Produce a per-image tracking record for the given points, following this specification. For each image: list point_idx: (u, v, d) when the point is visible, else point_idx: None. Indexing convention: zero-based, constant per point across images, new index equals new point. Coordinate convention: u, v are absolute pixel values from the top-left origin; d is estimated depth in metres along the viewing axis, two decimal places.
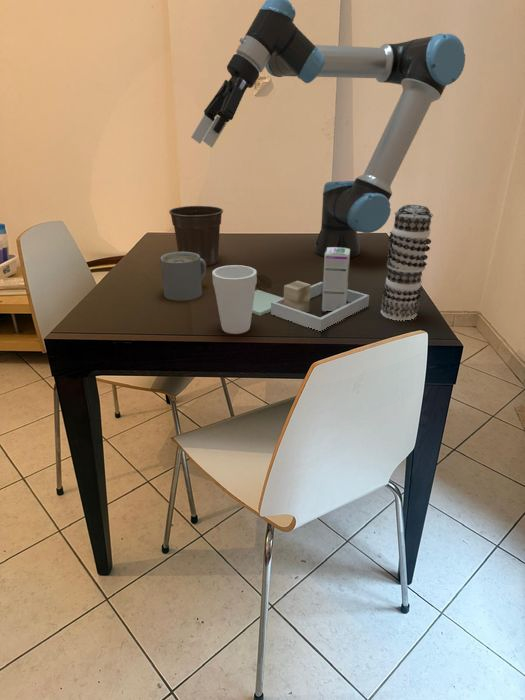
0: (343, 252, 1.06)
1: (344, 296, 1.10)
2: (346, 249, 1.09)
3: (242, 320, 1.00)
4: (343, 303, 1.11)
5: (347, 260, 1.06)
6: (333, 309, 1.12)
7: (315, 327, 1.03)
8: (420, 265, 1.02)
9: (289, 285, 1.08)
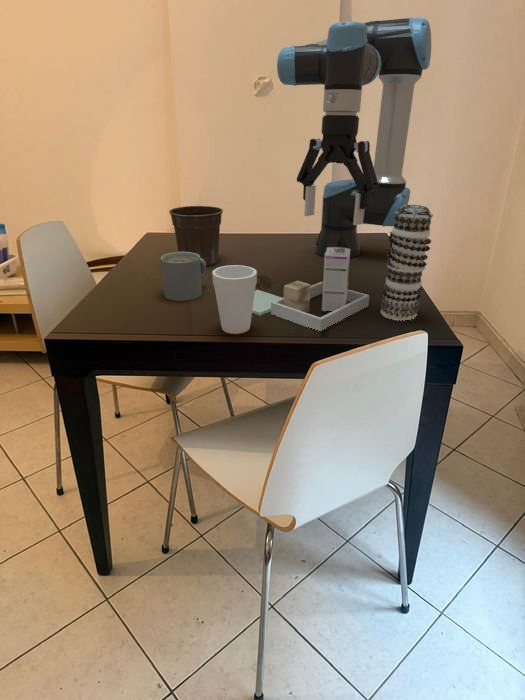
0: (343, 252, 1.06)
1: (344, 296, 1.10)
2: (346, 249, 1.09)
3: (242, 320, 1.00)
4: (343, 303, 1.11)
5: (347, 260, 1.06)
6: (333, 309, 1.12)
7: (315, 327, 1.03)
8: (420, 265, 1.02)
9: (289, 285, 1.08)
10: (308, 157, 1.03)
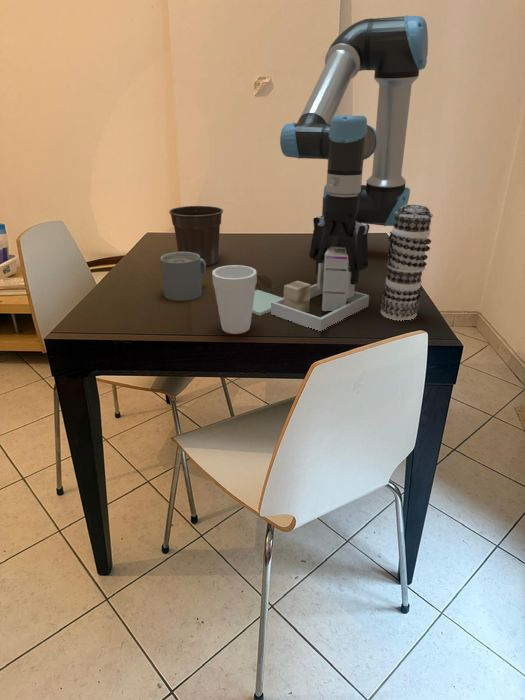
0: (343, 252, 1.06)
1: (344, 296, 1.10)
2: None
3: (242, 320, 1.00)
4: (343, 303, 1.11)
5: (347, 260, 1.06)
6: (333, 309, 1.12)
7: (315, 327, 1.03)
8: (420, 265, 1.02)
9: (289, 285, 1.08)
10: (315, 234, 1.09)
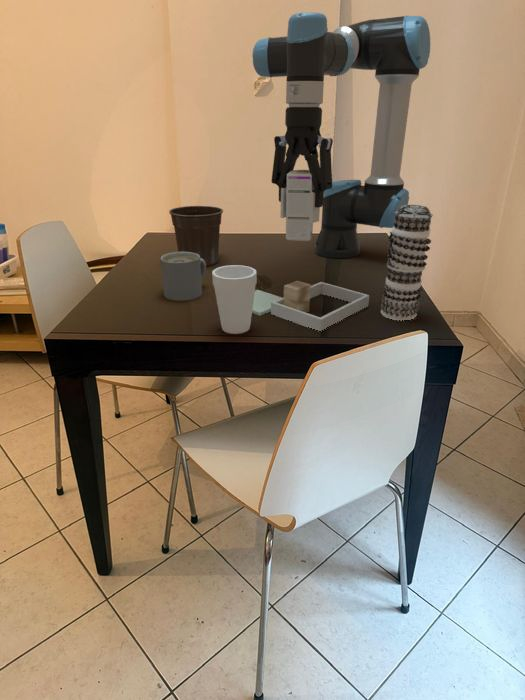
0: (306, 172, 0.99)
1: None
2: None
3: (242, 320, 1.00)
4: (308, 230, 1.04)
5: (311, 180, 0.99)
6: (298, 237, 1.05)
7: (315, 327, 1.03)
8: (420, 265, 1.02)
9: (289, 285, 1.08)
10: (277, 155, 1.02)
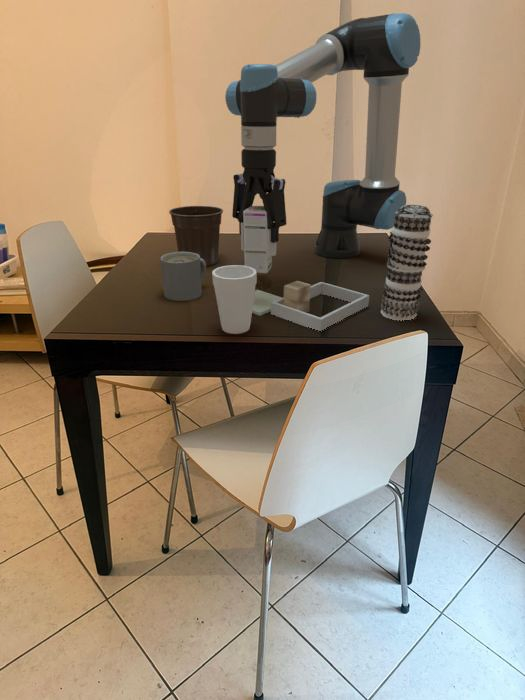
0: (262, 209, 1.04)
1: (265, 255, 1.08)
2: None
3: (242, 320, 1.00)
4: (265, 263, 1.09)
5: (266, 217, 1.04)
6: (255, 269, 1.10)
7: (315, 327, 1.03)
8: (420, 265, 1.02)
9: (289, 285, 1.08)
10: (236, 192, 1.07)
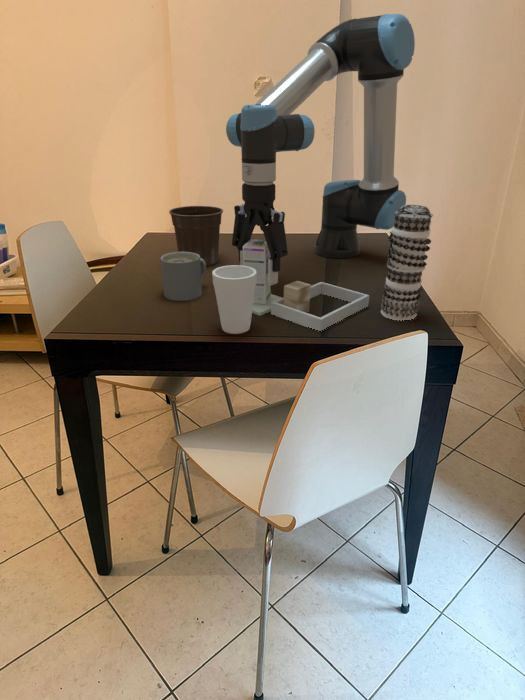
0: (261, 244, 1.08)
1: (264, 288, 1.12)
2: None
3: (242, 320, 1.00)
4: (263, 295, 1.13)
5: (264, 252, 1.08)
6: (254, 300, 1.14)
7: (315, 327, 1.03)
8: (420, 265, 1.02)
9: (289, 285, 1.08)
10: (236, 222, 1.11)
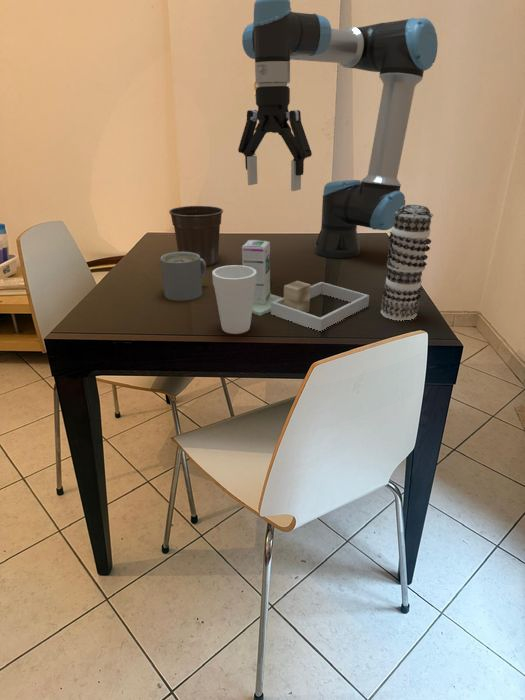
0: (260, 244, 1.09)
1: (263, 288, 1.12)
2: (265, 242, 1.11)
3: (242, 320, 1.00)
4: (263, 295, 1.13)
5: (263, 252, 1.08)
6: (254, 301, 1.14)
7: (315, 327, 1.03)
8: (420, 265, 1.02)
9: (289, 285, 1.08)
10: (246, 128, 1.09)
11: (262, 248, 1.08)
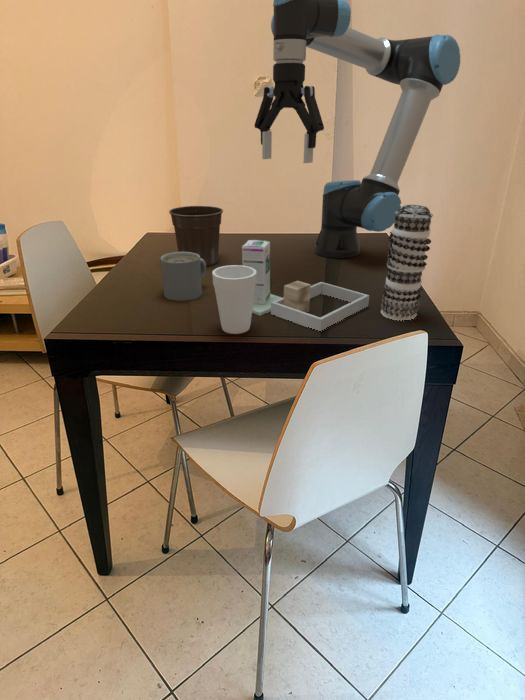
0: (260, 244, 1.09)
1: (263, 288, 1.12)
2: (265, 242, 1.11)
3: (242, 320, 1.00)
4: (263, 295, 1.13)
5: (263, 252, 1.08)
6: (254, 301, 1.14)
7: (315, 327, 1.03)
8: (420, 265, 1.02)
9: (289, 285, 1.08)
10: (263, 104, 1.16)
11: (262, 248, 1.08)
